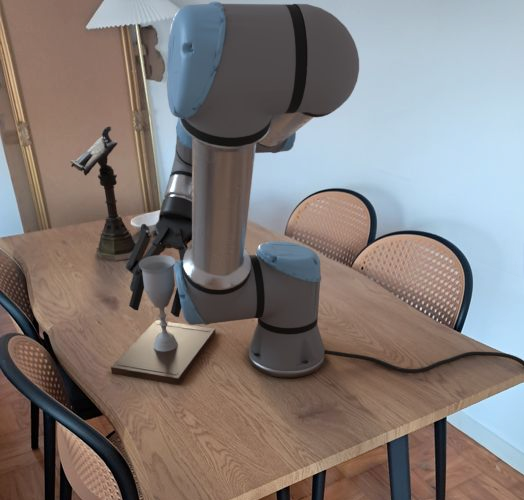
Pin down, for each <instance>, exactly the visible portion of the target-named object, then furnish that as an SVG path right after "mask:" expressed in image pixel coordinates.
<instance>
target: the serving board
mask: <svg viewBox="0 0 524 500" xmlns="http://www.w3.org/2000/svg"><path fill="white" fill-rule="evenodd" d="M160 322H161V320H159V319H156V320H155V321H153V323H152V324H151V325H150V326H148V328H147V329H146V330H145V331H144V332H143V333H142V334H141V335H140V336H139V337H138V338H137V339H136V341H134V342H133V343H132V344H131V345H130V346H129V348H127V349H126V350H125V352H124V353H123V354H122V355H121V356H120V357H119V358H118V359H117V360H116V361H114V363H113V364H112V365H111V366H110V371H111V374H113V375H119V376H125V377H130V378H136V379H142V380H148V381H154V382H159V383H165V384H171V385H177V386H179V385H180V384H181V383H182V381H183V380H184V379H185V378H186V376H187V375H188V374H189V372H190V371H191V369H192V368H193V367H194V365H195V364H196V362H197V361H198V360H199V358H200V357H201V356H202V354H203V353H204V351H206V349H207V347H208V346H209V344H210V343H211V342H212V340H213V339H214V338H215V336H216V335H217V331H216V328H214V327H207V326H200V325H192V324H188V323H187V324H186V323H179V322H172V321H166V322H167V323H168V325H167V326H166V330H167V332H169V333H171V334H172V335H173V336H174V338H175V339H176V341H177V342H178V346H177V347H176V348H175V349H173V350H170V351H157V350H155V349H154V348H153V345H154V343H155V342H154V341H155V339H156V336H157V335H158V334H159V333H161V332H162V328H161V326H160V325H159V324H160Z"/></svg>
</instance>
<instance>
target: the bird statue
mask: <svg viewBox="0 0 524 500" xmlns="http://www.w3.org/2000/svg"><path fill="white" fill-rule="evenodd" d="M111 131H112V127H111V126H105V127H104V128H103V129H102V132H101V135H102V136H101V137H100V138H99V137H98V139H97V140H96V141H95V142H94V143H93V144H92V145H91V146H90V147H89V149H88V150H86V151H85V152H84V153H83V154H82V155H80V156H79V157H78V158H77V159H76V160H74V159H70V160H69V162H70V163H71V164H70V165H71V166H70V167H71V168H73V167H74V168H75V170H78V171H80V172H83V175H84V176H85V177H86V176H87V175H88V174H89V173H90V172H91V171H92V169H93V168H94V167H95V166H96V165H97V164H98V165H99V169H98V172H99V174H98V175H97V178H98V180H99V185H100V186H101V187H103V190H104V194H105V201H104V202H105V204H106V208H107V214H108V215H107V216H106V217H105V218H104V221H105V222H104V226H103V228H102V230H101V233H100V234H99V236H100V238H99V243H98V247H96V254H97V256H98V257H99V258H100V259H101V260H104V261H113V262H118V261H124V260H129V258H130V256H131V253H132V251H133V249H134V247H135V245H136V242H135V240H134V238H133V236H132V232H131V231H130V230H129V228H128V227H126V225H125V223H124V221H123V217H122V216H121V215H120V214H119V213H118V211H117V210H118V209H117V202H118V200H117V199H116V195H115V186H116V185H117V183H118V182H117V177H118V175H117V173H115V170H114V169H113V167H112V166H111V165H110V164H108V157H109V156H110V154H111V153H112V152H113V150H114V149H115V147H117V145H118V141H117V140H112V138H111V137H110V136H109V133H110V132H111Z"/></svg>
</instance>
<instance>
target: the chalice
mask: <svg viewBox="0 0 524 500" xmlns="http://www.w3.org/2000/svg"><path fill="white" fill-rule="evenodd" d="M176 262H177V261H176V258H174V257H172V256H170V255H164V254H163V255H162V254H160V255H156V256H150V257H147V258H144V259H142V260H141V261H140V262H139V266H140V268H141V269H142V274H143V282H144V291H145V293H146V295H147V298H148V299H149V301H150V302H151V303H152V305H153V307H155V308H157V309H158V310H159V315H158V318H159V319H160V321H161V322H160V324H159V325H160V326H161V328H162V332H161V333H159V334H158V335H157V336H156V339H155V341H154V342H155V343H154V345H153V348H154V349H155V350H157V351H170V350H173V349H175V348H176V347H177V346H178V342H177V341H176V339H175V338H174V336H173V335H172V334H171V333H169V332H167V330H166V326H167V325H168V323H167V322H168V321H166V317H167V315H168V314H166V312H165V308H167V307H169V304H170V302H171V299H172V297H173V295H174V291H175V287H176V279H175V271H174V264H175V263H176Z"/></svg>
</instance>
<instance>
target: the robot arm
mask: <svg viewBox="0 0 524 500" xmlns="http://www.w3.org/2000/svg"><path fill="white" fill-rule="evenodd" d="M166 73H167V75H166V92H167V101H168V108H169V111H170V112H171V114H172V115H173V117H176V118H177V123H176V127H175V128H176V129H175V130H176V132H175V133H176V140H175V141H176V143H175V149H174V150H175V152H174V158H173V162H172V167H171V171H170V174H169V178H168V182H167V184H166V188H165V191H164V199H162V204H161V207H160V209H159V210H160V214H159V220H158V222H157V223H156V224H155V226H147V225H146V224H142V225H141V229H140V231H139V236H138V239H137V240H136V242H135V243H136V245H135V247H134V249H133V251H132V253H131V256H130V258H129V259H127V262H126V265H125V269H127V271H128V272H129V273H131V274H132V278H131V282H130V286H129V290H130V291H131V292H132V294H131V297H130V300H129V303H128V307H130V308H131V309H132V310H133V311H139V309H140V305H141V302H142V297H143V293H144V291H145V289H144V282H143V274H142V269H141V268H140V266H139V262H140V261H141V260H142V259H144V258H147V257H150V256H156V255H161V253H164V251H166V249H175V250H176V251H177V250H178V256H179V261H176V262H175V264H174V267H173V269H174V278H175V284H176V289H175V293H174V297H173V302H172V305H171V308H170V314H171V315H172V316H174V317H175V318H180V315H181V311H182V315H183V318H184V320H185V322H186V323H187V324H188V325H194V326H196V325H207V326H208V325H210V324H219V323H226V322H227V323H228V322H235V321H242V320H250V319H251V320H252V319H257V324H256V326H255V329H254V332H253V335H252V338H251V340H250V343H249V347H248V362H249V363H250V365H251V366H252V367H253V368H254V369H255V370H256V371H258V372H260V373H262V374H265V375H267V376H271V377H273V378H274V377H275V378H281V379H292V378H303V377H306V376H309V375H311V374H314V373H315V372H317V371H318V370H320V369H321V368H322V367H323V365H324V362H325V358H326V357H325V356H326V355H329V356H334V357H335V356H336V357H344V358H350V359H357V360H364V361H368V362H372V363H376V364H378V365H381V366H383V367H386V368H388V369H390V370H393V371H396V372H400V373H405V374H419V373H420V374H421V373H424V372H425V373H426V372H428V371H431V370H433V369H435V368H437V367H440V366H442V365H445V364H449V363H450V364H451V363H452V362H455V361H458V360H461V359H463V358H467V357H472V356H473V357H474V356H476V357H477V356H481V357H482V356H483V357H500V358H505V359H510V360H513V361H515V362H517V363H518V364H521V365H522V366H523V367H524V359H522V358H520V357H518V356H516V355H514V354H510V353H506V352H496V351H467V352H464V353H461V354H457V355H454V356H452V357H448V358H446V359H442V360H439V361H437V362H434V363H432V364H430V365H427V366H423V367H419V368H406V367H405V368H404V367H399V366H396V365H394V364H391V363H388V362H386V361H384V360H381V359H379V358H375V357H372V356H367V355H364V354H363V355H362V354H356V353H348V352H341V351H336V350H329V349H325V346H324V342H323V338H322V335H321V332H320V329H319V325H318V319H319V318H318V317H319V307H320V306H319V304H320V291H321V290H320V289H321V281H322V275H321V273H322V271H321V259H320V256H319V255H318V254H317V253H316V252H315V251H314V250H312V249H311V248H309V247H307V246H305V245H302V244H299V243H295V242H290V241H284V240H283V241H281V240H271V241H265V242H263V243H260V244H259V245H258V247H257V249H256V252H255V253H256V254H249V253H248V252H247V250H246V249H245V245H246V235H247V227H248V219H249V211H250V210H249V209H250V201H251V191H252V183H253V176H254V166H255V159H256V156H255V155H256V154H266V153H272V154H277V153H282V152H283V153H284V152H288V151H291V150H292V149H293V147H294V144H295V142H296V139H297V138H296V135H297V133H296V132H297V131H298V130H300V129H301V128H302V127H304V126H305V125H307V124H308V123H309V122H310V121H312V119H314V118H323V117H326V116H329V115H330V114H332V113H333V112H335V111H337V109H339V108H341V107H342V106H343V105H344V103H345V102H347V101H348V100H349V98H350V97H351V96H352V94H353V92H354V90H355V87H356V85H357V83H358V79H359V75H360V74H359V73H360V56H359V50H358V47H357V45H356V43H355V40H354V38H353V36H352V34H351V32H350V31H349V30H348V28H347V27H346V26H345V24H344V23H343V22H342V21H341V20H340V19H339V18H338V17H336V16H335V15H334V14H332V13H331V12H329V11H327V10H325V9H324V8H321V7H319V6H316V5H311V4H308V3H293V4H289V3H288V4H287V3H285V4H284V3H282V4H281V3H279V4H274V3H273V4H269V3H222V2H220V1H211V2H209V3H200V4H187V5H184V6H182V7H180V8H179V9H178V10H177V12H176V13H175V14H174V17H173V19H172V21H171V25H170V29H169V34H168V42H167V53H166ZM155 232H156V233H155ZM154 234H155V235H156V237H155V238H154V239H153V240H152V244H151V246H150V247H149V248H148V246H149V244H150V241H151V238H153V236H154ZM189 243H191V245H190V246H188V244H189Z"/></svg>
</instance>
